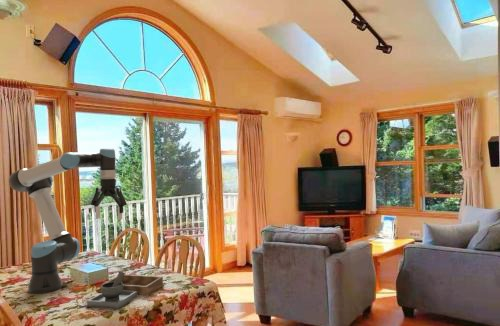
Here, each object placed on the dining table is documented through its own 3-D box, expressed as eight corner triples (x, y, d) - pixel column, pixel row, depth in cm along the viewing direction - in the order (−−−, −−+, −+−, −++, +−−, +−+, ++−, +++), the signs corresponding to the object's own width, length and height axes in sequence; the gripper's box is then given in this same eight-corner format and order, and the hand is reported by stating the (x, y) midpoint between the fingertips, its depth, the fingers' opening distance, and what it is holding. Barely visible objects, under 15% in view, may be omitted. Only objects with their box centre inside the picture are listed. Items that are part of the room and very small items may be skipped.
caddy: (102, 293, 190) (102, 283, 190) (121, 282, 205) (121, 274, 205) (146, 296, 184) (146, 286, 184) (163, 285, 199) (162, 276, 199)
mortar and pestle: (106, 305, 171) (105, 278, 171) (97, 300, 177) (96, 274, 177) (130, 298, 179) (129, 272, 179) (120, 293, 185) (119, 268, 185)
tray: (87, 306, 173) (87, 300, 173) (108, 294, 188) (108, 289, 188) (118, 309, 169) (117, 303, 169) (137, 296, 184) (137, 291, 184)
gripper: (83, 178, 203) (84, 219, 203) (124, 178, 196) (125, 220, 196) (93, 177, 210) (93, 217, 211) (133, 177, 203) (133, 218, 203)
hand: (108, 219), depth 203 cm, fingers open, 13 cm apart
